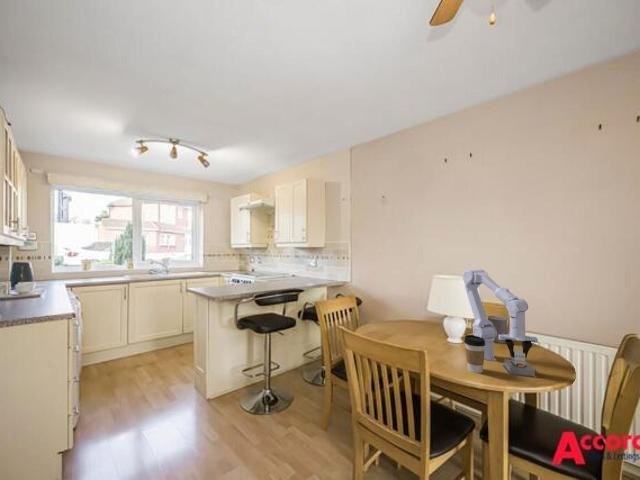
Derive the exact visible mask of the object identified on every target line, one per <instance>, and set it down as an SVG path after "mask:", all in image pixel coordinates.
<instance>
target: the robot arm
mask: <svg viewBox="0 0 640 480" xmlns="http://www.w3.org/2000/svg"><path fill="white" fill-rule="evenodd" d="M462 279H463V282H464V288H465V293H466V295H467V298H468V301H469V306H470V308H471V311H472V315H473V317H474V320H475V321H474V322H473V323H472V325H471V326H472V334H473V336H478V337H481V338H483V339H484V340H485V346H484V349H485V351H484V361H492V362H496V361H497V359H496V357H495V356H494V355H495V354H494V353H495V351H494V348H495V347H494V345H495V342H493V340H494V338H495V337H496V336H497V331H496V329H495V327H494V326H493V324H492V322H491V321H489V320H488V316H487V314H486V311H485V309H484V308H485V307H484V305H483V302H482V299H481V297H480V293H479V290H478V288H479V287H480V286H481V285H482V284H483V285H485V286H486V287H487V288H488V289H490V290H491V291H492V292H493V293H494V295H495V297H496V298H497V299H498V300H500V301H501V302H502V304H504V305H505V308H506V310H507V311H508V312H507V313H508V315H509V333H507V335H499V340H505V342H506V343H505V344H506V346H507V348H508V352H509V355H510V357H513V358H514V352H513V349H514V347H515V343H514V341H516V342H521V345H522V351H523V352H524V353H525V357H526V358H525V360H527V358H528V354H529V351H530V349H531V348H532V347H533V343H535V344H539V338H538V337H537V336H528V335H526V334H527V333H526V312H527V311H528V309H529V305H528V302H527V301H526V300H525V299H524V298H519V297H518V296H517V295H515V294H513V292H511V291H510V289H509V288H508V287H507V288H506V287H501V286H500V285H499V284H497V283H496V281H495V280H493V279H492V278H491V277H490V276H489V274H488V272H486V271H485V269H481V268H480V269H466V270H464V272H463V274H462Z"/></svg>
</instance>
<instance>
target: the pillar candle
mask: <svg viewBox="0 0 640 480" xmlns="http://www.w3.org/2000/svg"><path fill="white" fill-rule="evenodd" d="M487 319H488V320H489V321H491V322H492V324H493V326H494V327H495V329H496V331H497V336H496V337H495V338H494V340H493V343H494V344H506V342H505V340H499V335H508V319H507V317H505V316H502V315H501V316H500V315H488V316H487Z"/></svg>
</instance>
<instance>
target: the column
mask: <svg viewBox="0 0 640 480" xmlns="http://www.w3.org/2000/svg"><path fill="white" fill-rule="evenodd" d="M513 352H514V358H513V357H511V356H510V357H511V360H512V361H511V362H512V364H513V365H514V366H518V365H524V367H526V365H525V362H526V359H527V358H526V357H525V353H524V352H523V349H514V348H513ZM525 358H526V359H525Z"/></svg>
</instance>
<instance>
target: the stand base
mask: <svg viewBox="0 0 640 480" xmlns="http://www.w3.org/2000/svg"><path fill="white" fill-rule="evenodd" d="M511 361H512V359H505V358H504V359H503V365H502V367H503V368H504V369H505V371H506V373H508V375H509V376H520V377H528V378H537V377H538V376H536V375H535V374H536V372H535V368H533V366H531V364H529V362H528V361H526V360H525V361H526V362H525V365H526V367H524V365H518V366H514V365H513V364H512V362H511Z"/></svg>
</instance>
